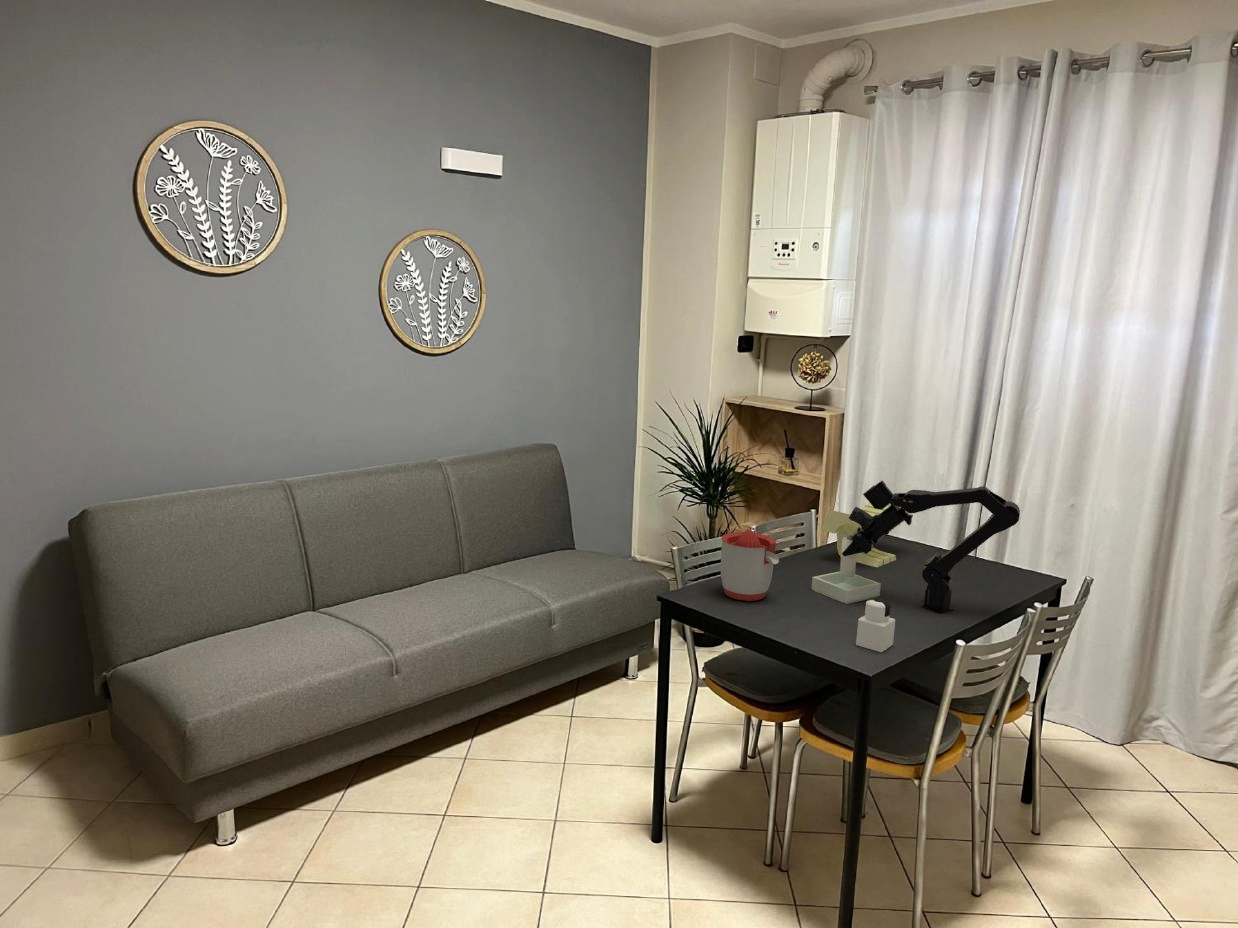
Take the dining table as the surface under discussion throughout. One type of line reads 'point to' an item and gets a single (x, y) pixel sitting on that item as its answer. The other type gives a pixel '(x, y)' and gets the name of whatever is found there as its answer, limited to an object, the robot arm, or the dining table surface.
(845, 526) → the slatted curved stool
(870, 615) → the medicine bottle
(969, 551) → the robot arm
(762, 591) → the citrus juicer
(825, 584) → the walled box
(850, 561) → the grey-capped cream cylinder
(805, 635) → the dining table surface
